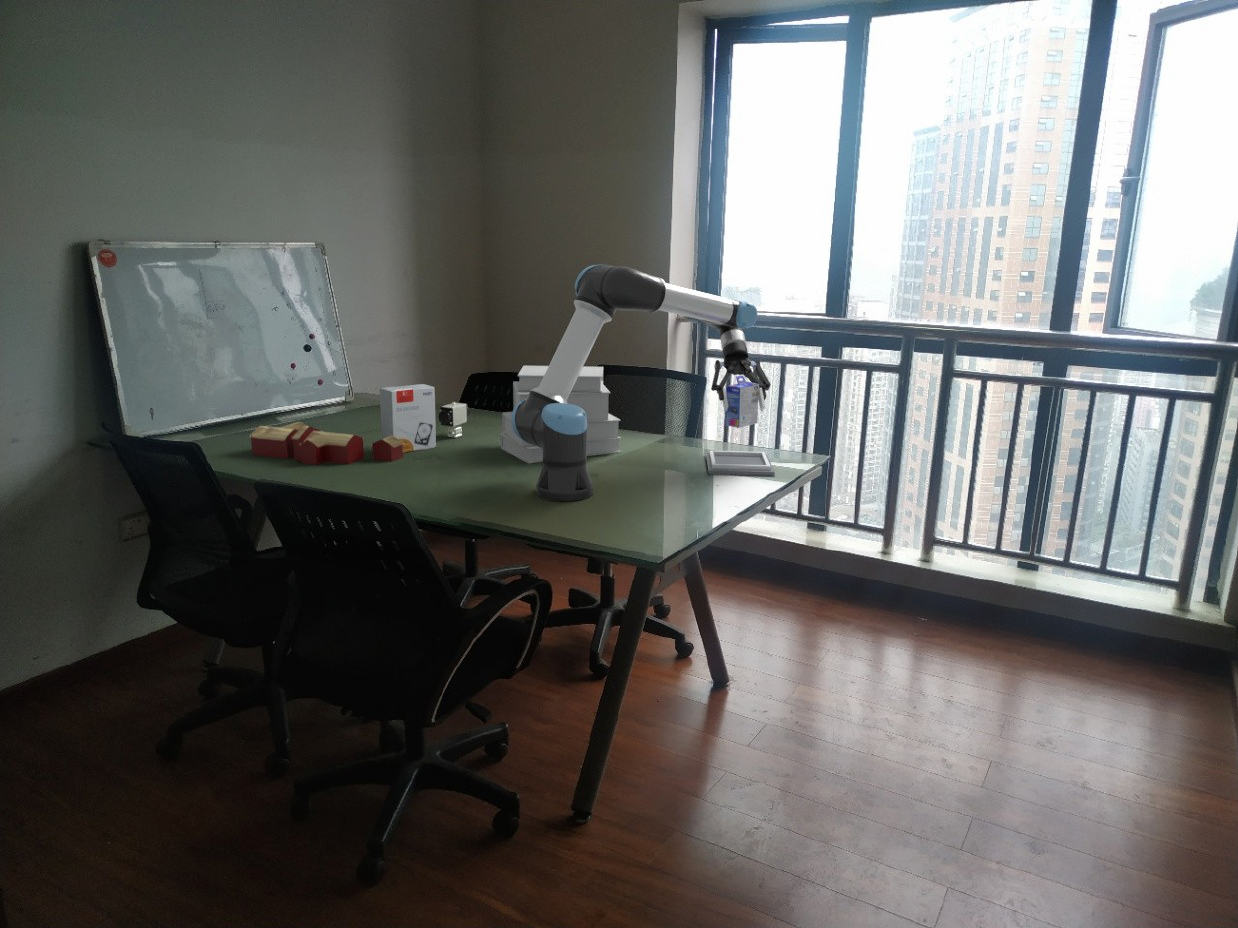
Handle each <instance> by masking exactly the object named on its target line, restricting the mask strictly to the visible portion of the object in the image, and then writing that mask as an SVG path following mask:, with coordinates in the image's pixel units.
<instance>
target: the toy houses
mask: <svg viewBox="0 0 1238 928" xmlns="http://www.w3.org/2000/svg"><path fill="white" fill-rule="evenodd" d="M249 438H250V442H251V443H250V444H251V452H252V455H253V456H259V457H260V456H261V457H271V458H277V459H287V460H288V459H291V458H294V461H295V462H302V464H305V465H314V466H318V465H320V464H323V463H332V464H342V465H351V464H353V463H356V462H359V461H362V460H364V459H365V451H364V449H365V448H364V438H363V437H362V436H359V435H356V434H349V433H348V434H347V433H341V432H340V433H338V432H337V433H336V432H330V431H322V430H321V429H318V428H316V427H313V426H311V425H310V426H308V425H306V424H305V423H303V422H302V421H297V422H293V423H289V424H287V425H283V426H280V427H275V426H264V425H259V426H257V427H256V428H255V429H254V430H253V431H252V432H251V433H250V435H249ZM403 443H404V442H402V441H401V440H399V439H397V438H396V437H394V436H389V437H387V438H384V439H382V438H381V439H380V440H377V441H375V442H372V443H370V446H372V460H374V461H381V462H382V461H383V462H390V463H392V462H395V461H397V460H399V459H402V458H404V453H403V447H402V444H403ZM404 444H405V443H404Z"/></svg>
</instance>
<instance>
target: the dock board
mask: <svg viewBox="0 0 1238 928" xmlns="http://www.w3.org/2000/svg"><path fill="white" fill-rule="evenodd" d="M705 458H706V465H707V471H708V475H719V474H733V475H732V476H751V475H769V476H768V477H775V476H776V475H775V474H776V473H775V470H774V468H773V465H772V462H771V461H770V459H769V456H768V454H766V451H742V450H741V451H739V450H709V452H706V453H705ZM735 474H736V475H735Z"/></svg>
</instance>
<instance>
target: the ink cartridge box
mask: <svg viewBox="0 0 1238 928" xmlns="http://www.w3.org/2000/svg"><path fill="white" fill-rule="evenodd" d="M735 379H736V381H737V383H735V384H730V385H727V386H726V394H727V400H728V409H727V411H725V413H726V414H725V415H726V416H725V426H726V427H732V428H737V429H740V428H741V429H742V428H744V427H748V426H751V425H755V424H758V421H759V384H757V383H752V382H751V381H746V380H745V376H744V375H738V376H735ZM740 379H742V380H740Z"/></svg>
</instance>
